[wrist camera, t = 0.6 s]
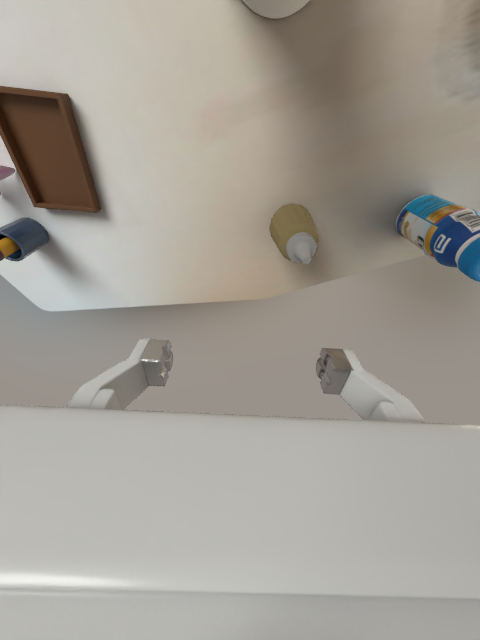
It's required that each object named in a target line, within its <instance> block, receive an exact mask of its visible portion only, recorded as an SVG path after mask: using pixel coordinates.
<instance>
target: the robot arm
mask: <svg viewBox="0 0 480 640" xmlns="http://www.w3.org/2000/svg"><path fill="white" fill-rule="evenodd" d="M242 1H243V2H244V3H245V4H246V5H247V6H248V7H249V8H250V9H251V10H252V11H254V12H255V13H257V14H259V15H261V16H263V17H266V18H273V19H278V18H284V17H287V16H290V15H292V14H294V13H296V12H297V11H299V10H300V9H301V8H303V7H304V6H305V5H306V4H307V3H308V2H309V1H310V0H242ZM170 349H171V342H170V341H169V340H155V339H140V340H139V341H138V343H137V345H136V346H135V348H134V350H133V352H132V354H131V355H130V357H129V359H128V360H124V361H122V362H120V363H119V364H117V365H115V366H114V367H112V368H110V369H109V370H107V371H106V372H104V373H102V374H100V375H99V376H97V377H96V378H94V379H92V380H91V381H89V382H88V383H86V384H84V385H82V386H81V387H80V388H79V389H78V391H77V392H76V393H75V395H74V396H73V398H72V399H71V400H70V402H69V403H68V405H67V406H66V407H45V406H23V405H0V640H480V425H465V424H442V423H426V422H425V421H424V419H423V418H422V416H421V415H420V414H419V412H418V411H417V409H416V408H415V406H414V405H413V404H412V402H411V401H410V400H408V399H407V398H405V397H404V396H402V395H401V394H399V393H398V392H396V391H395V390H394V389H392V388H391V387H389V386H388V385H386V384H385V383H383V382H382V381H381V380H379V379H378V378H376V377H375V376H373V375H372V374H370V373H369V372H367V371H364V370H363V368H362V366H361V364H360V363H359V361H358V359H357V357H356V356H355V354H354V352H353V351H352V350H351V349H332V348H322V349H321V351H320V355H321V357H320V358H319V359H318V360H317V363H316V372H317V376H318V377H319V378H320V379H321V382H320V384H321V387H322V390H323V393H326V394H339V395H340V396H341V397H342V398H343V399H344V400H345V401H346V402H347V403H348V404H349V406H351V408H352V409H353V410H355V412H356V413H357V414H358V415H359V416H360V417H361V418H362V419H363V420H349V419H348V420H347V419H324V418H302V417H280V416H256V415H233V414H210V413H185V412H163V411H140V410H139V411H138V410H124V409H125V408H126V407H127V406H128V405H129V404H130V403H131V402H132V401H133V400H134V399H136V398H137V397H138V396H139V395H140V394H141V393H142V392H143V391H144V390H145V389H146V388H147V387H148V386H165V384H166V382H167V379H168V371H170V370H171V367H172V362H173V354H172V352H171V351H170Z"/></svg>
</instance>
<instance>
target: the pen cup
mask: <svg viewBox="0 0 480 640" xmlns="http://www.w3.org/2000/svg"><path fill="white" fill-rule="evenodd" d="M5 237H9V238H10V239H12V240H14V241H15V242H16V243H17V244H18V245H19V247H20V249H19V250H17V251H16V252H14V253H12V254H11V255H9V256H7V257H6V258H5V259H8V260H11V261H20V260H23V259H24V258H26V257H27V256H29V255H30V254H32V253H33V252H35V251H37V250H38V249H40V248H41V247H43V246H44V245H45V244H47V243H48V240H49V236H48V233H47V231H46V230H45V229H44V227H43V226H42V225H41V224H39V223H38V222H36V221H35V220H33V219H30V218H20V219H18V220H16V221H13V222H11V223H9V224H7V225H5V226H3V227H0V240H1V239H3V238H5Z"/></svg>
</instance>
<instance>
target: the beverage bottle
mask: <svg viewBox="0 0 480 640" xmlns="http://www.w3.org/2000/svg"><path fill="white" fill-rule="evenodd" d="M396 229H397V232H398V233H399V234H400V235H401V236H403V237H405V238H407V239H408V240H410V241H411V242H412V243H414V244H415V245H417V246H418V247H419V248H421V249H422V250H423V251H424V253H425V254H426V255H427V256H429V257H431V258H433V259H436V260H437V261H438V262H439V263H440V264H442V265H445V266H449V267H458V268H459V270H460V271H461V272H463V273H464V274H465V275H467V276H468V277H470V278H471V279H473V280H476V281H479V282H480V212H478V211H476V210H474V209H469V208H465V207H462V206H460V205H457V204H454V203H452V202H449V201H446V200H444V199H441V198H439V197H437V196H435V195H422V196H419V197H417V198H415V199H413V200H412V201H410V202H409V203H408V204H407V205H406V206H405V207H404V208H403V209H402V210H401V212H400V213H399V215H398V217H397V220H396Z"/></svg>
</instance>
